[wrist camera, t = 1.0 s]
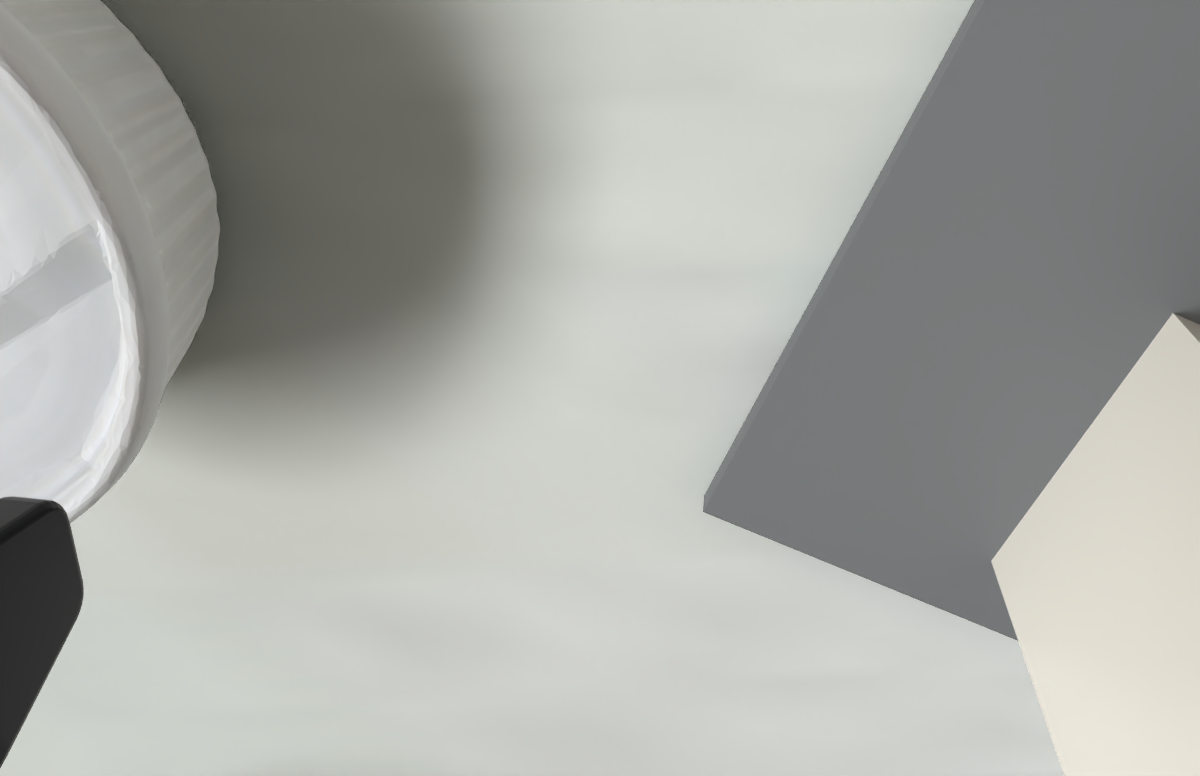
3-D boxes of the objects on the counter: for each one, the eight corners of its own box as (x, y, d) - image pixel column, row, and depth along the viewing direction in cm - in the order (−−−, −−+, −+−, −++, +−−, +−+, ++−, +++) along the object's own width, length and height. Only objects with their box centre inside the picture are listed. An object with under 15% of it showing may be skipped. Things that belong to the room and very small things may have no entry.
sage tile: (1251, 348, 19) (1545, 644, 12) (1061, 590, 22) (1210, 946, 15) (1172, 312, 19) (1422, 592, 12) (991, 561, 22) (1108, 906, 15)
